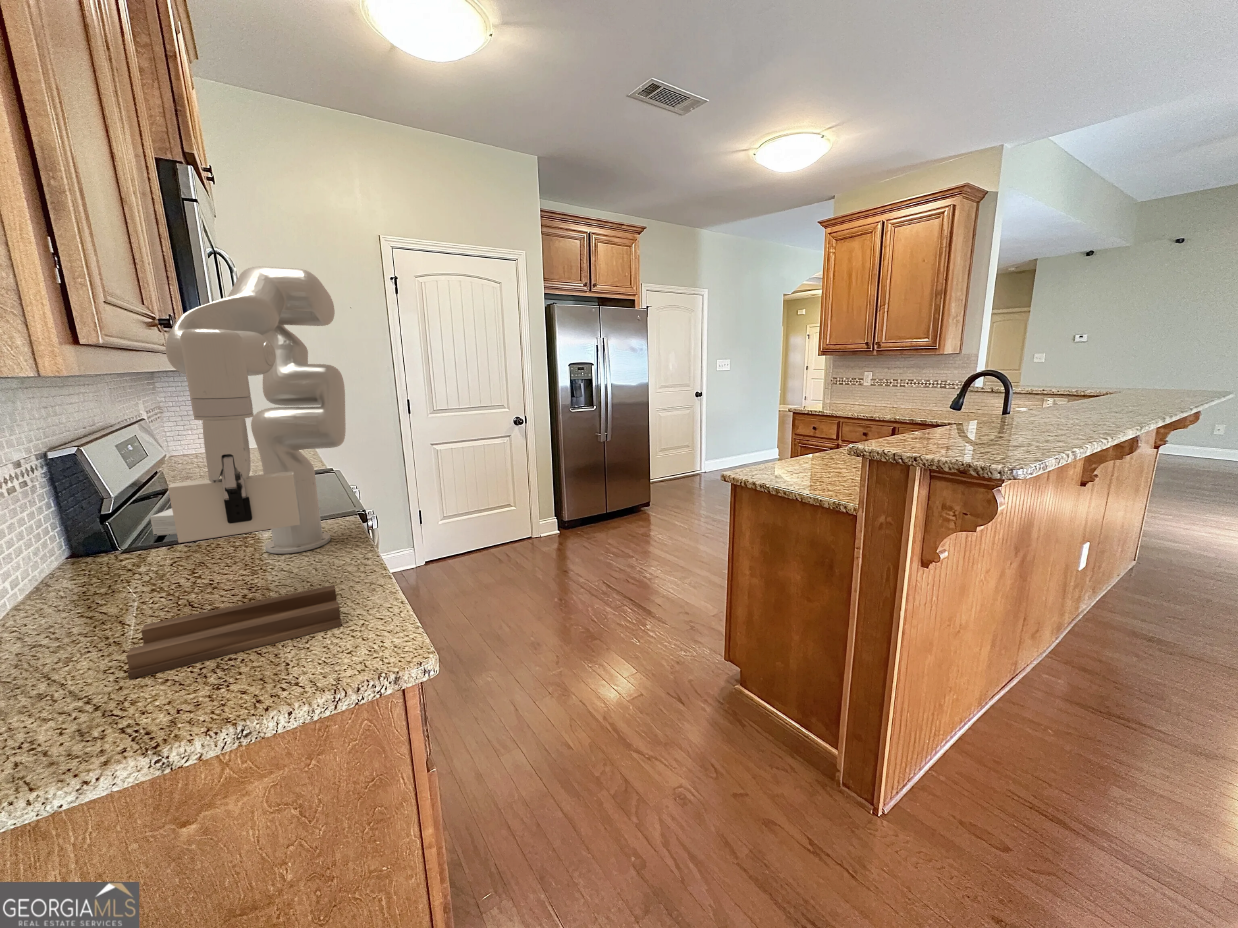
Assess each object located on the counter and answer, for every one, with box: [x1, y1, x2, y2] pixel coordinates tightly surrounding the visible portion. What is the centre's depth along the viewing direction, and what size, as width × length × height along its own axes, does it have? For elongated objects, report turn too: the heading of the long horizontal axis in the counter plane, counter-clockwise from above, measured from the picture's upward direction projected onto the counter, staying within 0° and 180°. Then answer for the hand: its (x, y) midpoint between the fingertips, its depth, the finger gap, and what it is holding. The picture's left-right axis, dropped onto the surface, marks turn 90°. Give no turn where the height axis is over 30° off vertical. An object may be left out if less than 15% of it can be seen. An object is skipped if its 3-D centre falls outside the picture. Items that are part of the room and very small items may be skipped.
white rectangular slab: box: [167, 471, 300, 544], centre depth 81 cm, size 3×16×9 cm, turn 124°
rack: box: [126, 584, 342, 680], centre depth 73 cm, size 11×24×3 cm, turn 124°
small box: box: [149, 507, 177, 536], centre depth 123 cm, size 8×8×5 cm
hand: (241, 517), depth 81 cm, fingers closed on white rectangular slab, 3 cm apart
